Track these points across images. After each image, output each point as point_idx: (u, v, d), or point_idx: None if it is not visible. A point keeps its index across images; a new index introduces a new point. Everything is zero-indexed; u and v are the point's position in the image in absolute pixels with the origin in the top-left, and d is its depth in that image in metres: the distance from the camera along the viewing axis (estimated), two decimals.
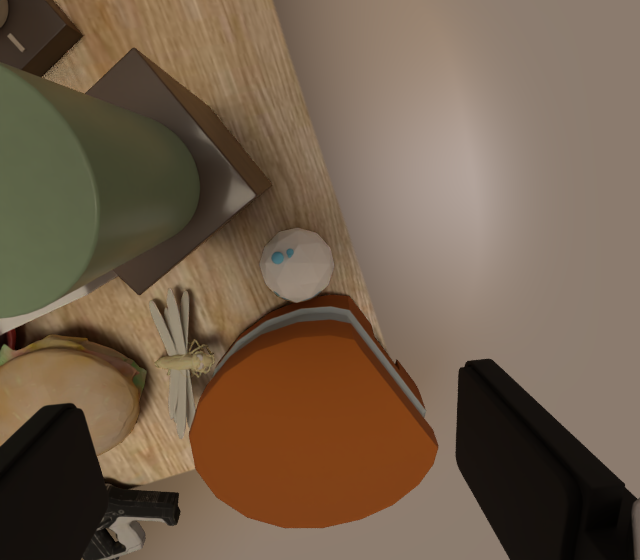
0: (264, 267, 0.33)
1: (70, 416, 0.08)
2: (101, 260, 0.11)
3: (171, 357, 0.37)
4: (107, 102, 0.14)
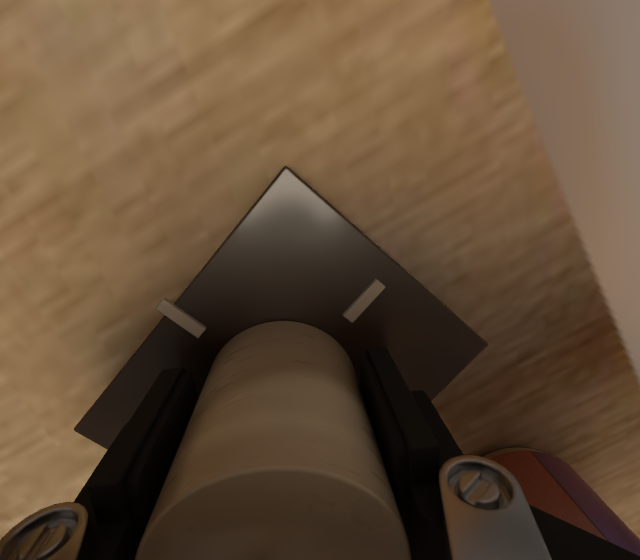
0: None
1: (188, 377, 0.09)
2: None
3: None
4: None
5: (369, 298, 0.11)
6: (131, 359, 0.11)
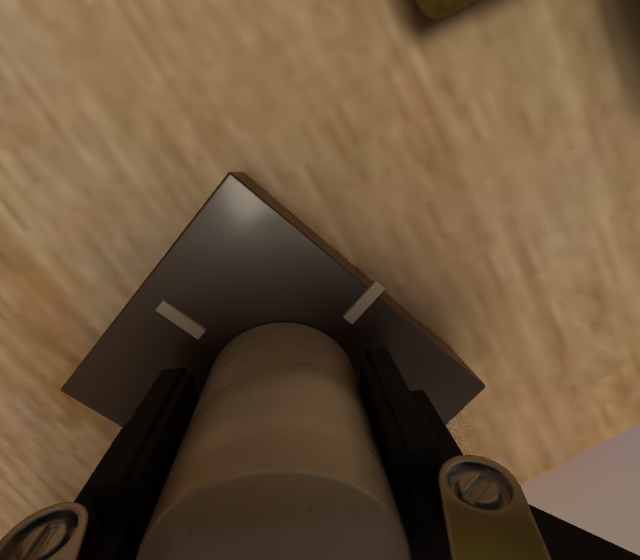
0: None
1: (188, 377, 0.09)
2: None
3: None
4: None
5: None
6: (319, 248, 0.10)
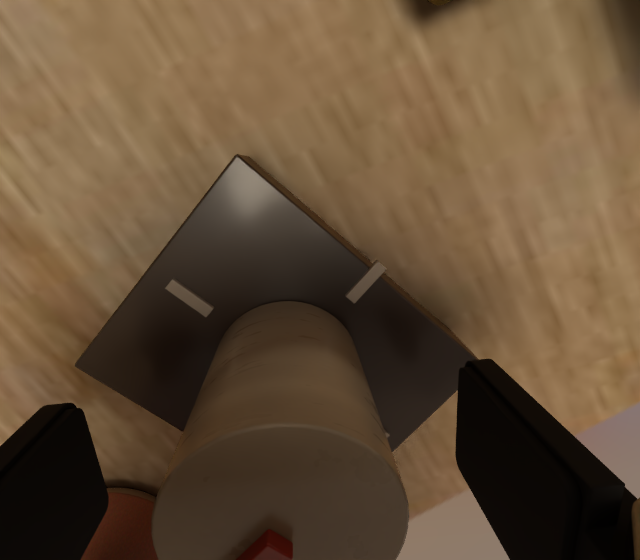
0: None
1: (70, 416, 0.08)
2: None
3: None
4: None
5: None
6: (323, 229, 0.10)
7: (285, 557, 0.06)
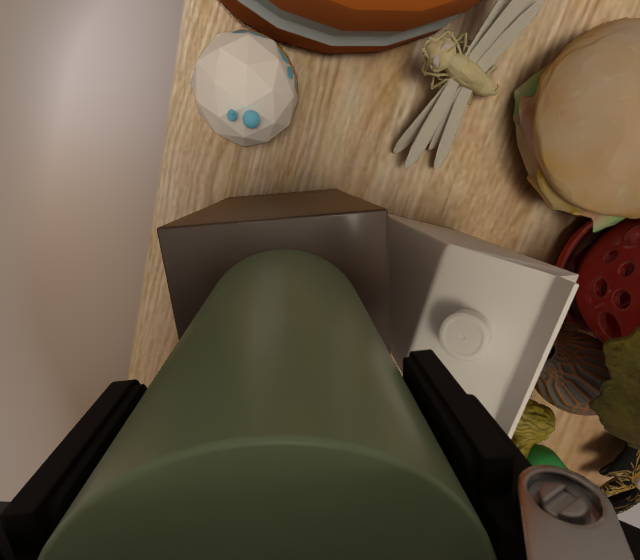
0: (279, 117, 0.24)
1: (138, 391, 0.09)
2: (181, 415, 0.05)
3: (470, 87, 0.26)
4: None
5: None
6: None
7: None
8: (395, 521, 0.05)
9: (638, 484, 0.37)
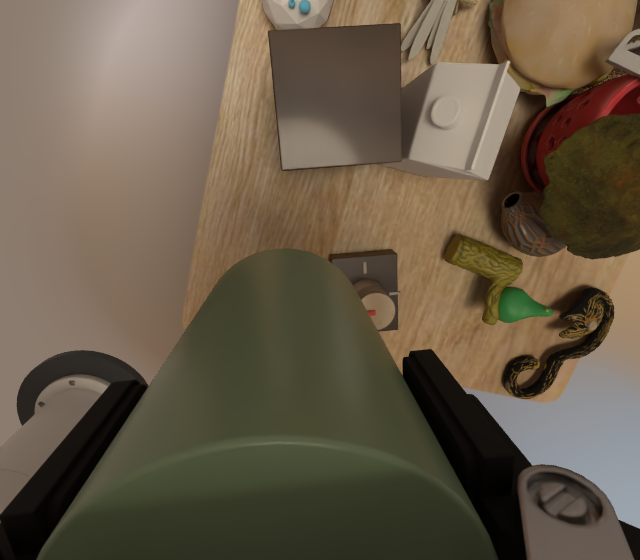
0: (322, 9, 0.35)
1: (138, 391, 0.09)
2: (180, 415, 0.05)
3: None
4: None
5: None
6: None
7: (375, 314, 0.41)
8: (397, 522, 0.05)
9: (589, 326, 0.48)
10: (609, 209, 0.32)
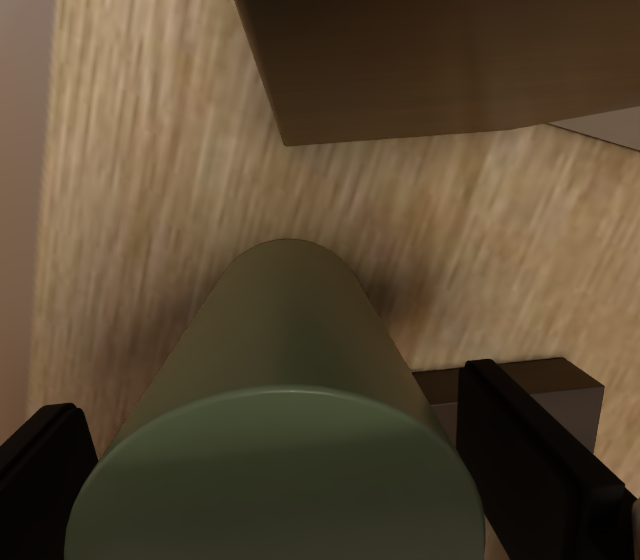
0: None
1: (70, 416, 0.08)
2: (201, 373, 0.06)
3: None
4: None
5: None
6: (594, 446, 0.17)
7: None
8: (391, 464, 0.05)
9: None
10: None
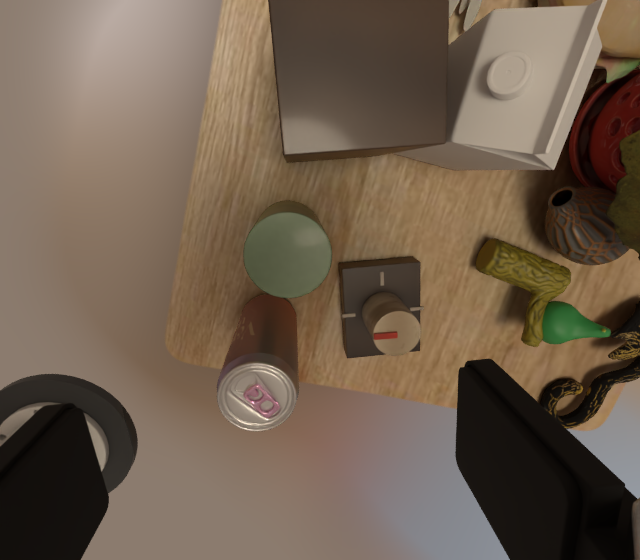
0: None
1: (70, 416, 0.08)
2: (271, 213, 0.28)
3: None
4: None
5: None
6: (419, 290, 0.38)
7: (397, 336, 0.33)
8: (309, 230, 0.27)
9: None
10: None
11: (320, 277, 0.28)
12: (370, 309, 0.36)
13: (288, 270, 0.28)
